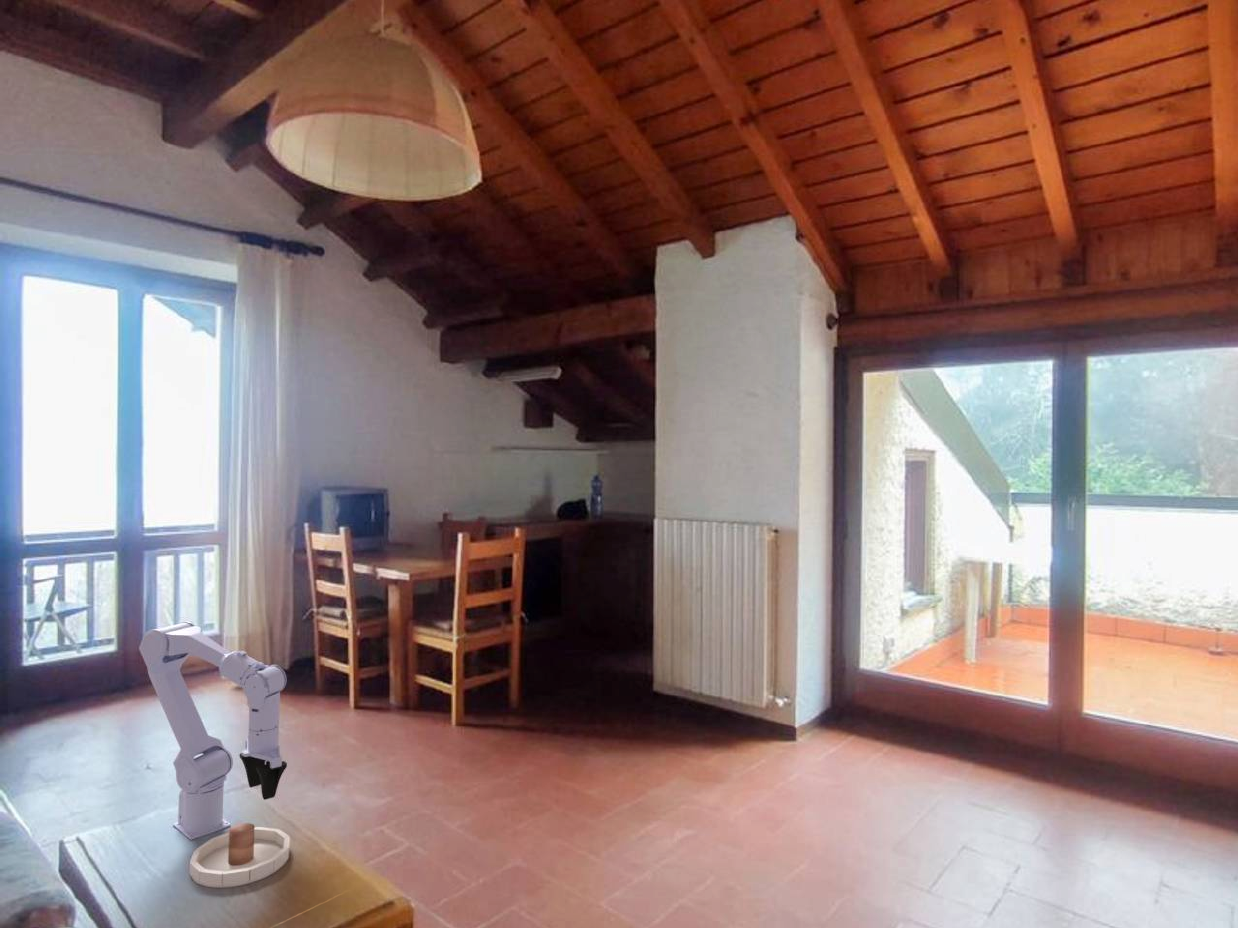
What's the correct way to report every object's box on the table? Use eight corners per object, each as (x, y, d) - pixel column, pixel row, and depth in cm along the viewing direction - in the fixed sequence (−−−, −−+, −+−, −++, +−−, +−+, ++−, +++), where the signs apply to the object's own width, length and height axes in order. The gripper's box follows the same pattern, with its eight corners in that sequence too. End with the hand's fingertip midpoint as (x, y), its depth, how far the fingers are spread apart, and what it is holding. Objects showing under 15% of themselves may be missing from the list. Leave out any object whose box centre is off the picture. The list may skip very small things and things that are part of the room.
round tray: (175, 864, 140) (176, 850, 140) (264, 831, 153) (264, 819, 153) (214, 899, 130) (214, 884, 130) (305, 860, 143) (305, 847, 143)
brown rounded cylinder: (223, 860, 141) (224, 829, 141) (246, 850, 145) (247, 820, 145) (235, 868, 138) (236, 836, 138) (258, 858, 142) (258, 827, 142)
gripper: (231, 721, 154) (229, 785, 153) (256, 741, 143) (254, 809, 143) (265, 714, 159) (263, 776, 159) (292, 732, 149) (290, 798, 149)
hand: (261, 791), depth 151 cm, fingers open, 7 cm apart
